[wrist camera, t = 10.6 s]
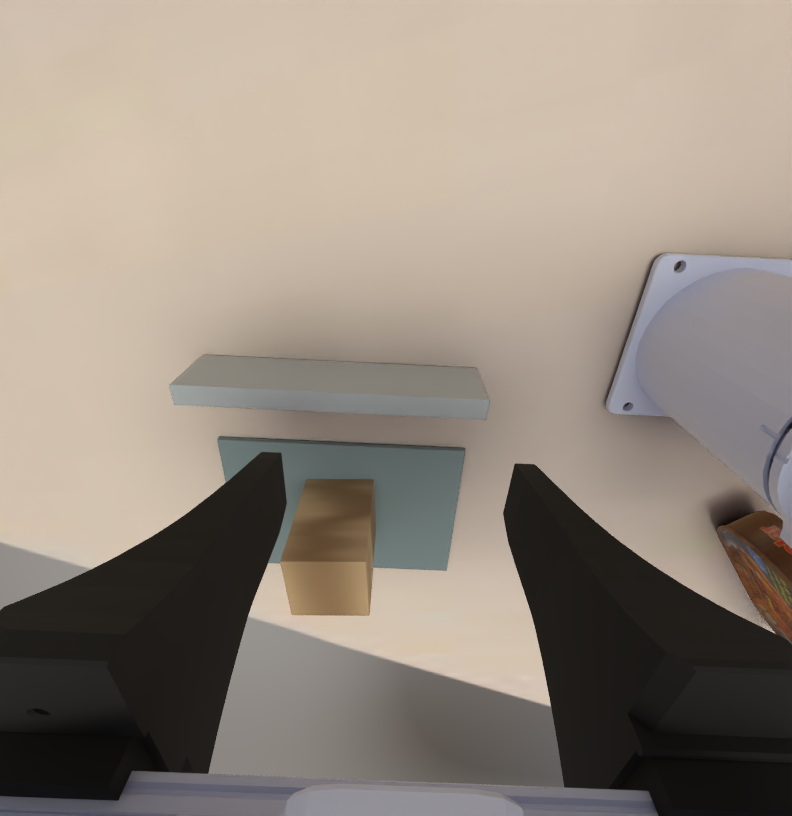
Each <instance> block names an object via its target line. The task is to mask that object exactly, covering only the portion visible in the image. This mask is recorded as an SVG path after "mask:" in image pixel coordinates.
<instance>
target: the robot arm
mask: <svg viewBox="0 0 792 816" xmlns="http://www.w3.org/2000/svg"><path fill="white" fill-rule="evenodd" d="M678 261H681V266H680V268H679V269H678V270H676V271H674V266H675V264H676V263H677V262H678ZM628 402H630V403H629V405H628V406H626V407H623V406H624V404H626V403H628ZM606 408H607V409H608V410H609V412H611V413H613V414H623V415H644V416H665V417H671V418H672V419H674V420H675V421H676V422H677V423H678V424H679V425H680V426H681V427H683V428H684V429H685V430H686V431H687V432H688V433H689V434H690V435H692V436H693V437H694V438H695V439H696V440H697V441H698V442H699V443H701V444H702V445H703V446H704V447H705V448H706V449H707V450H708V451H709V452H711V453H712V454H713V455H714V456H715V457H716V458H717V459H718V460H720V461H721V462H722V463H723V464H724V465H725V466H726V467H727V468H729V469H730V470H731V471H732V472H733V473H734V474H735V475H736V476H738V477H739V478H740V479H741V480H742V481H743V482H744V483H745V484H747V485H748V486H749V487H750V488H751V489H752V490H753V491H754V492H756V493H757V494H758V495H759V496H760V497H761V498H762V499H763V500H765V501H766V502H767V503H768V504H769V505H770V506H771V507H772V508H774V509H775V510H776V511H777V512H778V513H779V514H780V515H781V517H782V520H783V528H782V531H781V534H780V538H781V539H782V540H783V541H784V542H785V543H786V544H787V545H788V546H790V547H791V548H792V259H777V258H758V257H738V256H719V255H700V254H681V253H664V254H662V255H660V256H659V257H658V258H657V259H656V260H655V262H654V263H653V266H652V269H651V272H650V275H649V278H648V281H647V284H646V287H645V289H644V292H643V295H642V298H641V301H640V304H639V307H638V310H637V313H636V316H635V319H634V322H633V325H632V328H631V331H630V334H629V337H628V340H627V342H626V345H625V348H624V351H623V354H622V357H621V360H620V363H619V366H618V369H617V372H616V375H615V378H614V381H613V384H612V387H611V390H610V393H609V395H608V398H607V401H606ZM286 505H287V499H286V490H285V481H284V472H283V463H282V454H281V453H278V452H261V453H260V454H258V455H257V456H256V457H255V458H254V459H253V460H251V461H250V462H249V463H248V464H247V465H246V466H245V467H243V468H242V469H241V470H240V471H239V472H238V473H237V474H235V475H234V476H233V477H232V478H231V479H230V480H229V481H227V482H226V483H225V484H224V485H223V486H221V487H220V488H219V489H218V490H217V491H216V492H214V493H213V494H212V495H211V496H209V497H208V498H207V499H205V500H204V501H203V502H201V503H200V504H199V505H198V506H196V507H195V508H194V509H192V510H191V511H190V512H188V513H187V514H186V515H184V516H183V517H181V518H180V519H178V520H177V521H176V522H174V523H173V524H171V525H169V526H168V527H166V528H165V529H163V530H162V531H160V532H159V533H157V534H155V535H154V536H152V537H151V538H149V539H147V540H145V541H144V542H142V543H140V544H138V545H136V546H135V547H133V548H131V549H129V550H128V551H126V552H124V553H122V554H121V555H119V556H117V557H115V558H113V559H111V560H109V561H107V562H105V563H103V564H101V565H99V566H97V567H95V568H93V569H91V570H89V571H87V572H85V573H83V574H81V575H79V576H76V577H74V578H72V579H70V580H68V581H66V582H63V583H61V584H59V585H57V586H54V587H52V588H49V589H47V590H44V591H42V592H40V593H37V594H35V595H32V596H30V597H27V598H25V599H23V600H20V601H18V602H15V603H13V604H10V605H8V606H5V607H3V608H2V609H1V610H0V816H792V644H791V643H790V642H789V641H788V640H787V639H785V638H783V637H781V636H779V635H777V634H774V633H772V632H770V631H768V630H766V629H764V628H762V627H760V626H758V625H756V624H754V623H752V622H750V621H748V620H746V619H744V618H742V617H740V616H738V615H736V614H734V613H732V612H730V611H728V610H726V609H725V608H723V607H721V606H719V605H717V604H715V603H714V602H712V601H710V600H708V599H706V598H705V597H703V596H701V595H699V594H698V593H696V592H694V591H692V590H691V589H689V588H687V587H686V586H684V585H682V584H681V583H679V582H678V581H676V580H674V579H673V578H671V577H670V576H668V575H667V574H665V573H663V572H662V571H660V570H659V569H657V568H656V567H654V566H653V565H651V564H650V563H648V562H647V561H645V560H644V559H642V558H641V557H640V556H638V555H637V554H636V553H634V552H633V551H632V550H630V549H629V548H627V547H626V546H625V545H623V544H622V543H621V542H619V541H618V540H617V539H616V538H614V537H613V536H612V535H611V534H609V533H608V532H607V531H606V530H605V529H603V528H602V527H601V526H600V525H599V524H597V523H596V522H595V521H594V520H593V519H592V518H591V517H589V516H588V515H587V514H586V513H585V512H584V511H583V510H582V509H580V508H579V507H578V506H577V505H576V504H575V503H574V502H573V501H572V500H571V499H570V498H569V497H568V496H567V495H566V494H565V493H564V492H563V491H562V490H561V489H559V488H558V487H557V486H556V485H555V484H554V483H553V482H552V481H551V480H550V479H549V478H548V477H547V476H546V475H545V474H544V473H543V472H542V471H541V470H540V469H539V468H538V467H537V466H536V465H534V464H515V466H514V470H513V474H512V478H511V483H510V487H509V491H508V495H507V500H506V504H505V508H504V512H503V514H504V520H505V526H506V532H507V537H508V542H509V546H510V549H511V552H512V555H513V558H514V562H515V565H516V568H517V571H518V574H519V577H520V580H521V583H522V586H523V589H524V592H525V595H526V598H527V602H528V605H529V608H530V611H531V614H532V618H533V621H534V625H535V629H536V634H537V638H538V643H539V647H540V652H541V656H542V661H543V666H544V671H545V676H546V681H547V686H548V691H549V697H550V702H551V708H552V713H553V718H554V725H555V730H556V736H557V741H558V748H559V755H560V761H561V768H562V775H563V780H564V788H560V787H535V786H508V785H483V784H481V785H480V784H457V783H456V784H455V783H432V782H405V781H404V782H403V781H380V780H355V779H327V778H303V777H277V776H250V775H225V774H223V775H222V774H208V772H209V767H210V763H211V758H212V753H213V749H214V745H215V740H216V736H217V732H218V727H219V723H220V719H221V715H222V711H223V707H224V703H225V699H226V695H227V691H228V687H229V683H230V679H231V675H232V672H233V668H234V664H235V660H236V656H237V653H238V649H239V645H240V642H241V638H242V635H243V631H244V628H245V624H246V621H247V617H248V614H249V611H250V608H251V605H252V603H253V600H254V597H255V595H256V592H257V589H258V587H259V584H260V582H261V579H262V577H263V574H264V572H265V569H266V567H267V564H268V562H269V559H270V557H271V554H272V551H273V549H274V546H275V544H276V541H277V539H278V536H279V533H280V530H281V526H282V522H283V518H284V514H285V510H286Z"/></svg>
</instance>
